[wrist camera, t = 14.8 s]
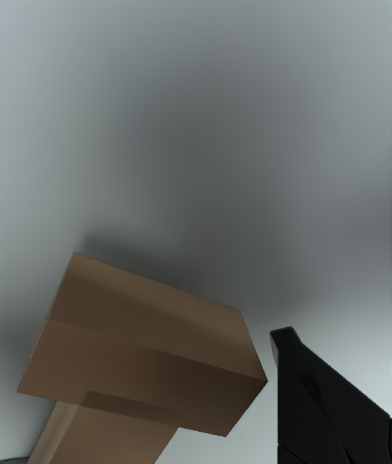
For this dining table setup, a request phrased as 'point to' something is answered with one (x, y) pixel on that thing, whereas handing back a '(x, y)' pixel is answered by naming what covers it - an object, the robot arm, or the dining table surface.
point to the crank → (135, 367)
